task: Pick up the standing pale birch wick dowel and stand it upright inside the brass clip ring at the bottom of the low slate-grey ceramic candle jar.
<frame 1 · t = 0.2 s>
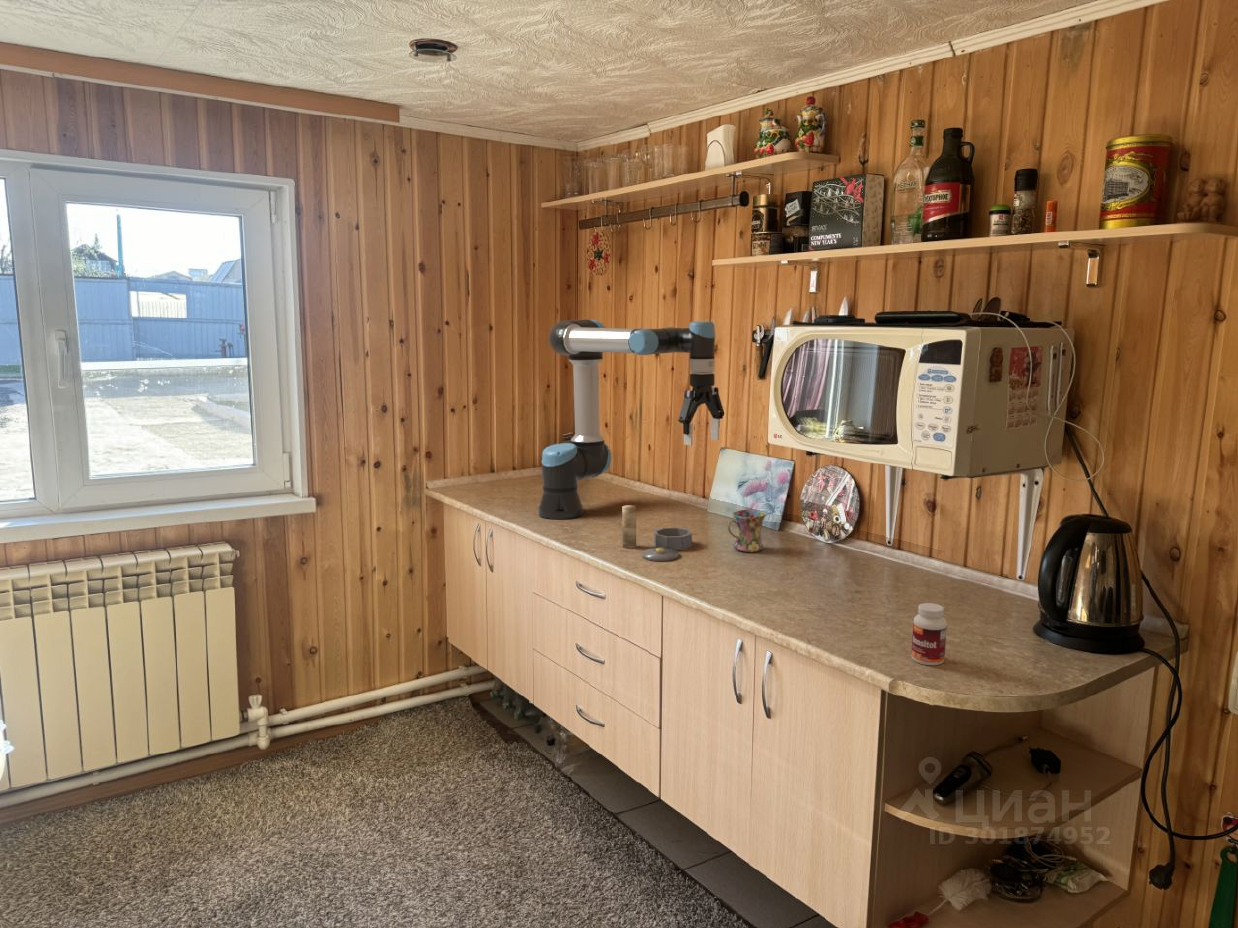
hand: (701, 442, 264), 28 cm above the worktop, fingers open, 13 cm apart
candle jar: (672, 545, 252), on the worktop
wick dowel: (629, 546, 251), on the worktop
pill bottle: (927, 660, 169), on the worktop
jar lid: (660, 556, 241), on the worktop
mug: (744, 550, 246), on the worktop
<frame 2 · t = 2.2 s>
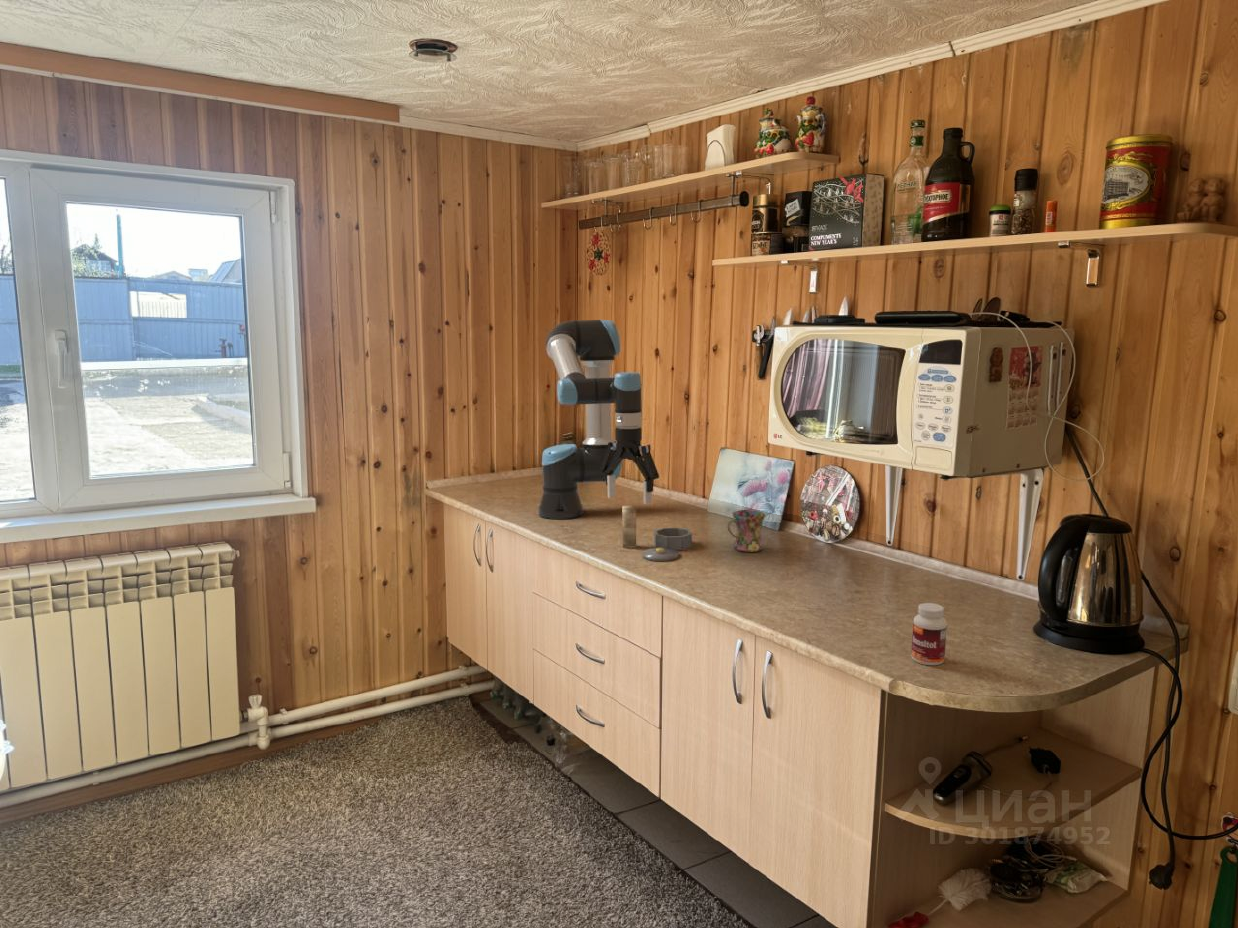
hand: (629, 500, 248), 14 cm above the worktop, fingers open, 13 cm apart
nothing on the worktop moved.
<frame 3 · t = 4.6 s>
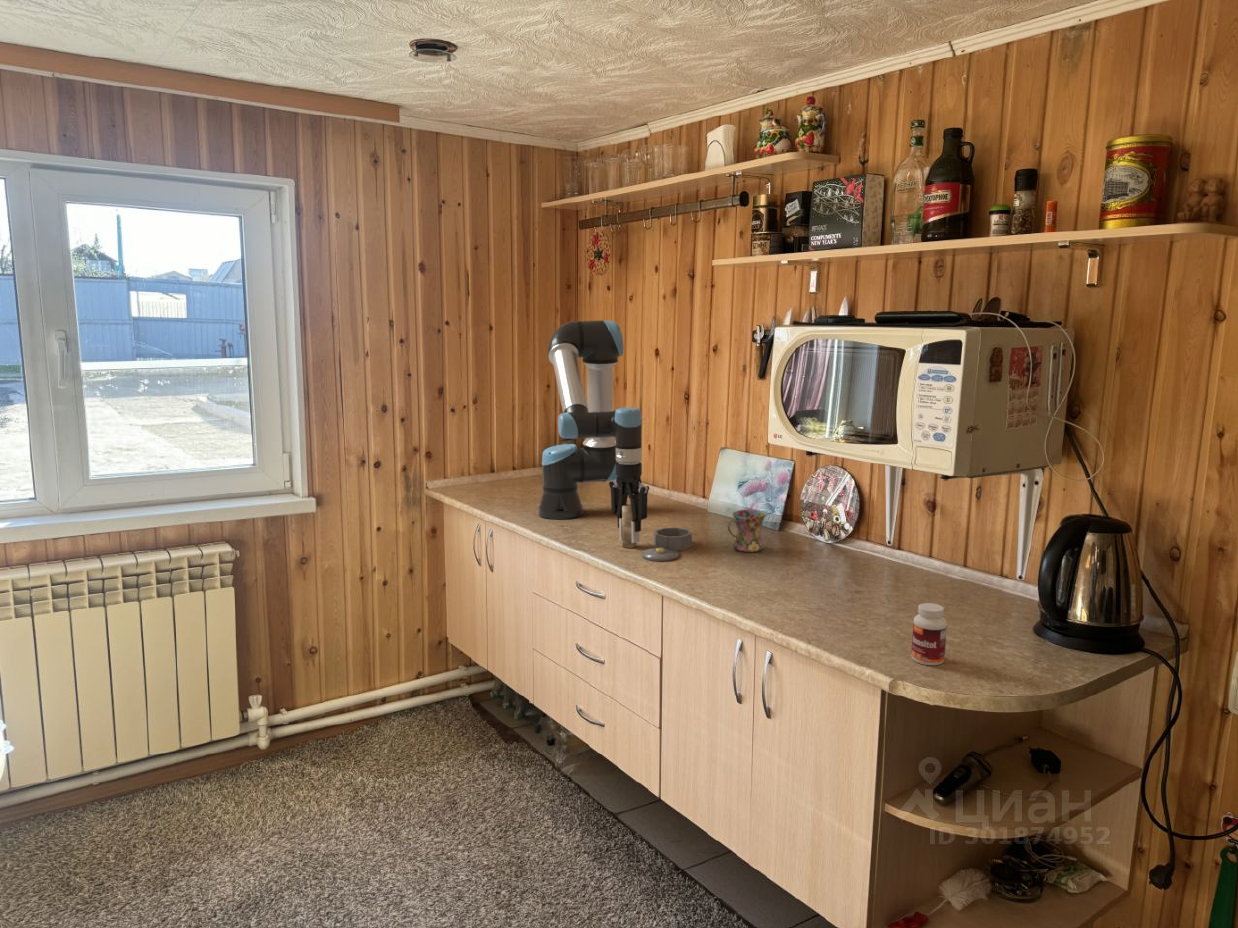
hand: (629, 540, 251), 2 cm above the worktop, fingers closed on wick dowel, 4 cm apart
wick dowel: (629, 545, 251), on the worktop, touching gripper
everything else where it was.
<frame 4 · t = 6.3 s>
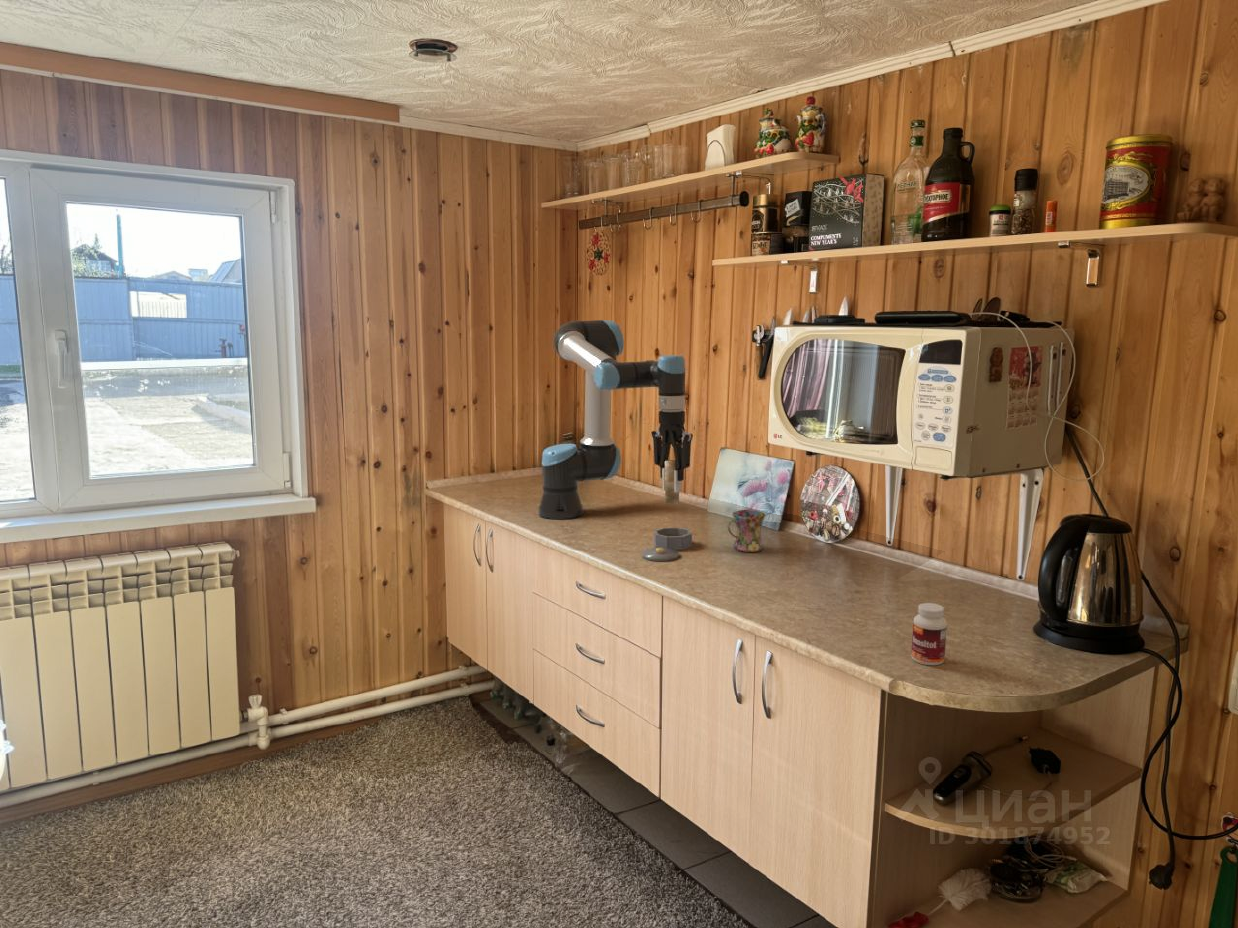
hand: (672, 490, 249), 17 cm above the worktop, fingers closed on wick dowel, 4 cm apart
wick dowel: (672, 501, 249), point 13 cm above the worktop, touching gripper
everything else where it was.
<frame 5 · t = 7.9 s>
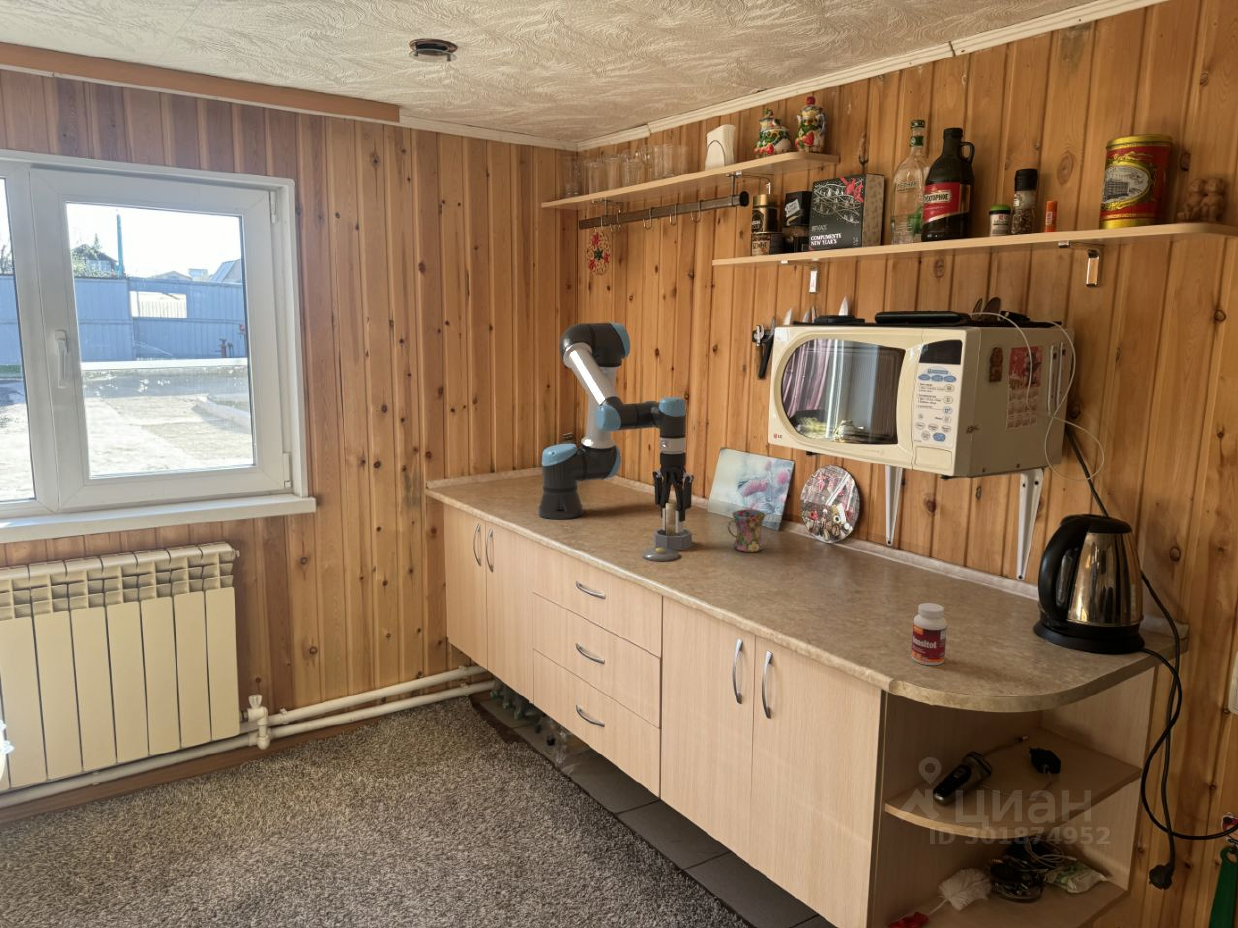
hand: (672, 530, 251), 5 cm above the worktop, fingers closed on wick dowel, 4 cm apart
wick dowel: (672, 543, 252), point 1 cm above the worktop, touching candle jar, gripper
everything else where it was.
when the fingers open (4 cm above the worktop, at t = 8.5 s): wick dowel stays where it is, resting on candle jar.
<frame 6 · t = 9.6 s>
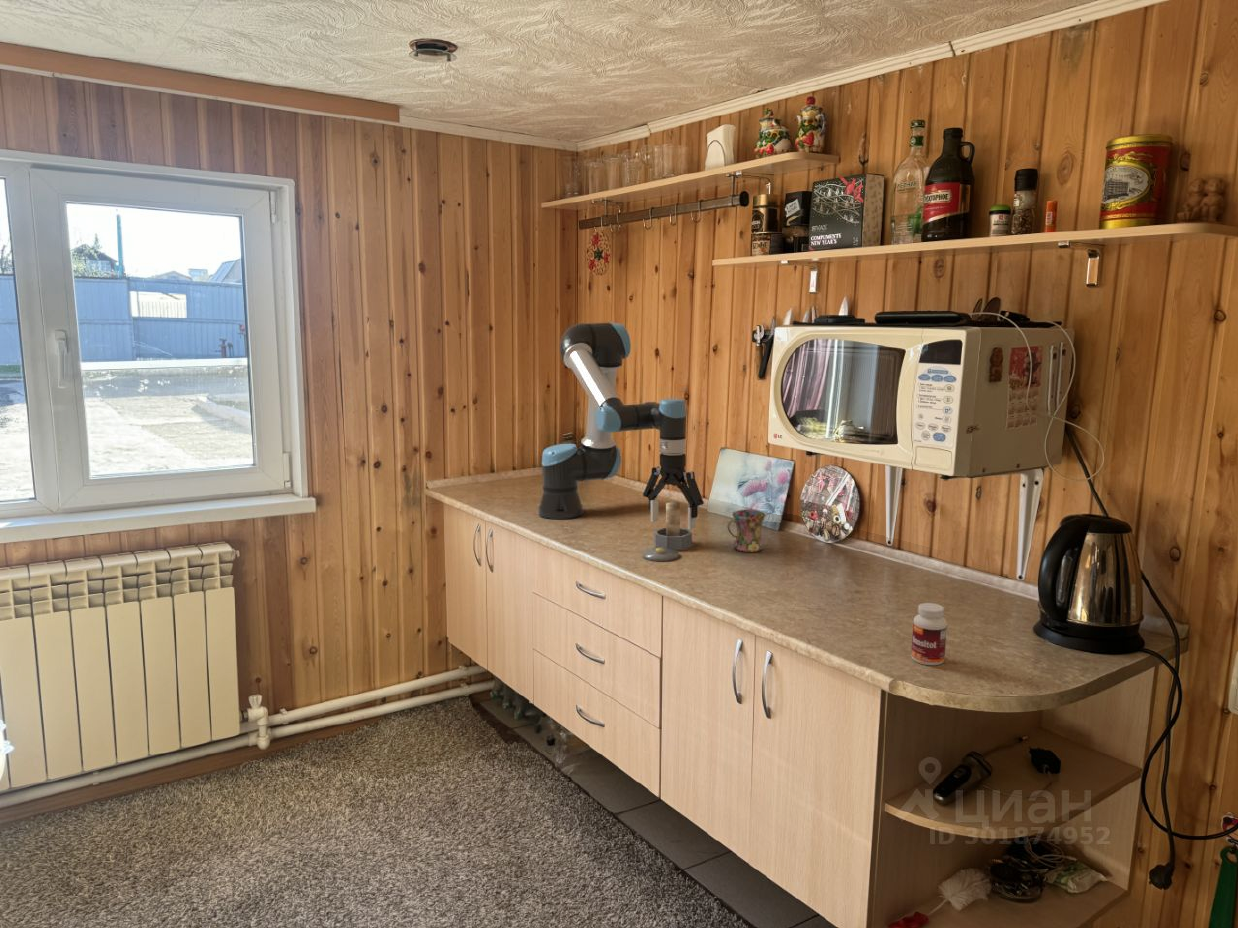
hand: (672, 524, 251), 6 cm above the worktop, fingers open, 13 cm apart
wick dowel: (672, 543, 252), point 1 cm above the worktop, touching candle jar
everything else where it was.
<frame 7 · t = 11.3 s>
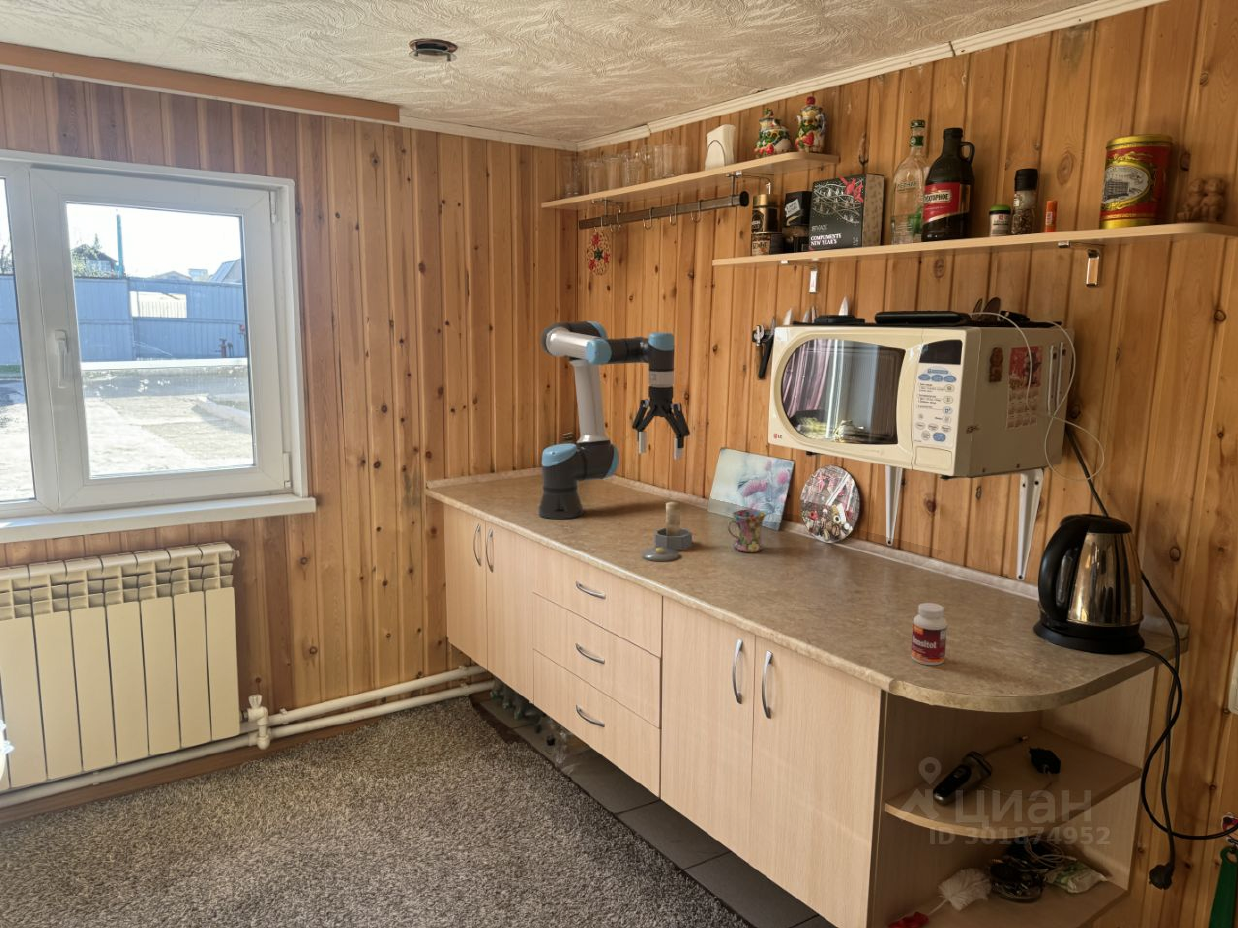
hand: (660, 455, 258), 25 cm above the worktop, fingers open, 13 cm apart
nothing on the worktop moved.
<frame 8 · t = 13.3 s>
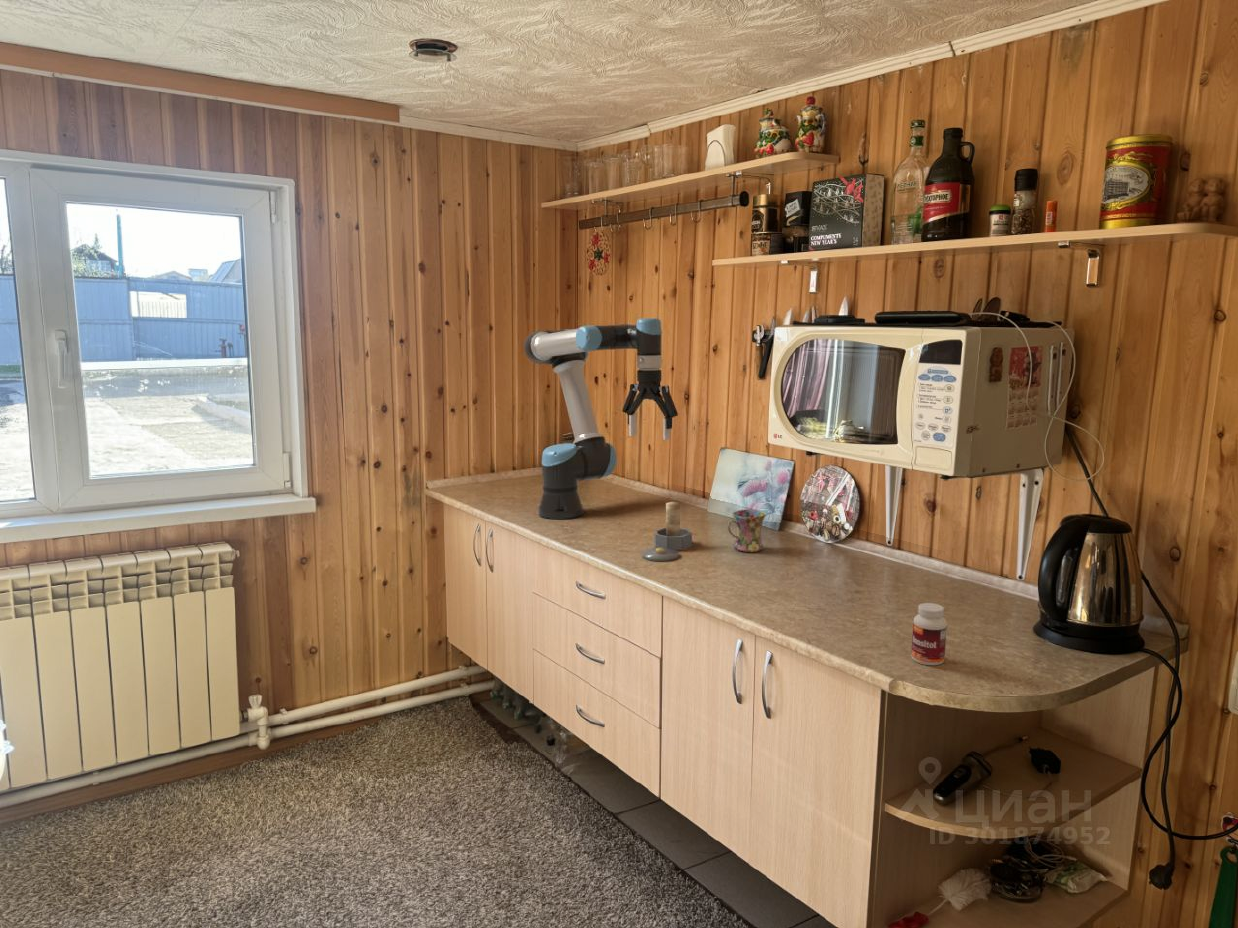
hand: (649, 437, 268), 29 cm above the worktop, fingers open, 13 cm apart
nothing on the worktop moved.
at the end: wick dowel 0.1 cm from the candle jar (horizontally); wick dowel point 0.6 cm above the worktop; wick dowel tilted 0° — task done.
